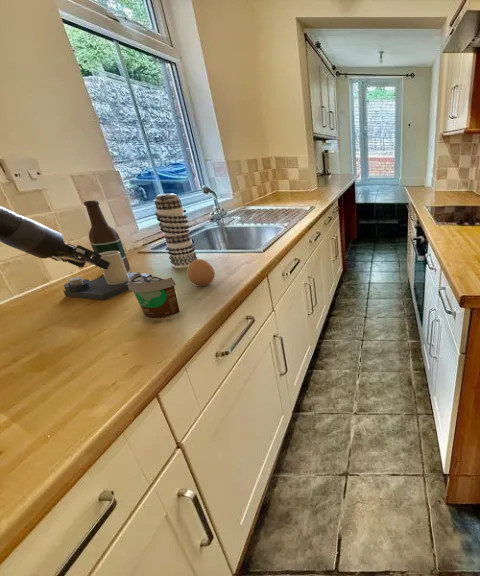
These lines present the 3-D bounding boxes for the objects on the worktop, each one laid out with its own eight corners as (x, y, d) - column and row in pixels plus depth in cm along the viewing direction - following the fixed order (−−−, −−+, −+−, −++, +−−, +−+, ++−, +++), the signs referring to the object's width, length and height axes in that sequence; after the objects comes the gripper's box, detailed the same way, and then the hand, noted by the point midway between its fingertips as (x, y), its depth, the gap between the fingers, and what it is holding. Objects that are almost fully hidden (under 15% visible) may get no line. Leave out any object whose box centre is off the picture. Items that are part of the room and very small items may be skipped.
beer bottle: (129, 265, 116) (105, 198, 106) (131, 271, 111) (106, 201, 101) (102, 270, 112) (74, 201, 102) (103, 277, 106) (73, 204, 96)
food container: (127, 316, 81) (113, 280, 77) (150, 305, 87) (138, 271, 83) (162, 324, 78) (150, 286, 74) (184, 312, 83) (173, 277, 79)
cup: (102, 284, 96) (91, 255, 92) (119, 277, 101) (109, 250, 97) (117, 285, 95) (106, 256, 91) (133, 278, 100) (124, 251, 96)
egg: (222, 283, 101) (216, 257, 98) (201, 291, 95) (194, 265, 91) (206, 279, 104) (200, 254, 100) (185, 287, 98) (177, 261, 94)
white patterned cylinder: (175, 261, 121) (155, 193, 110) (201, 259, 123) (184, 192, 112) (166, 269, 112) (144, 197, 102) (195, 266, 115) (176, 195, 104)
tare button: (68, 285, 92) (65, 280, 91) (78, 282, 94) (76, 276, 94) (76, 286, 91) (73, 280, 91) (86, 282, 94) (83, 277, 93)
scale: (63, 297, 92) (58, 286, 91) (117, 276, 107) (113, 266, 105) (103, 301, 89) (99, 290, 88) (153, 279, 104) (149, 269, 103)
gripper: (61, 224, 76) (121, 255, 91) (15, 222, 79) (81, 252, 94) (45, 252, 74) (110, 279, 89) (-2, 248, 76) (69, 275, 91)
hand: (95, 265), depth 91 cm, fingers open, 8 cm apart
